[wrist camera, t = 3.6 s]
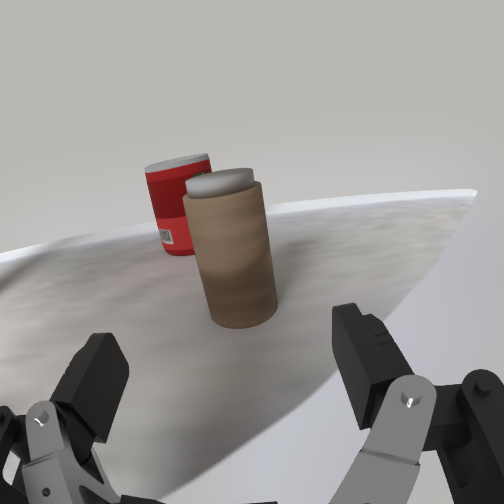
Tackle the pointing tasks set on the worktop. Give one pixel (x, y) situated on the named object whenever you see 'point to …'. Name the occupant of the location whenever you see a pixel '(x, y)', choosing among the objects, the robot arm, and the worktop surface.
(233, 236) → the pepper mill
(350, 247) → the worktop surface
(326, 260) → the worktop surface
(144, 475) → the worktop surface
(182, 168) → the canned food
